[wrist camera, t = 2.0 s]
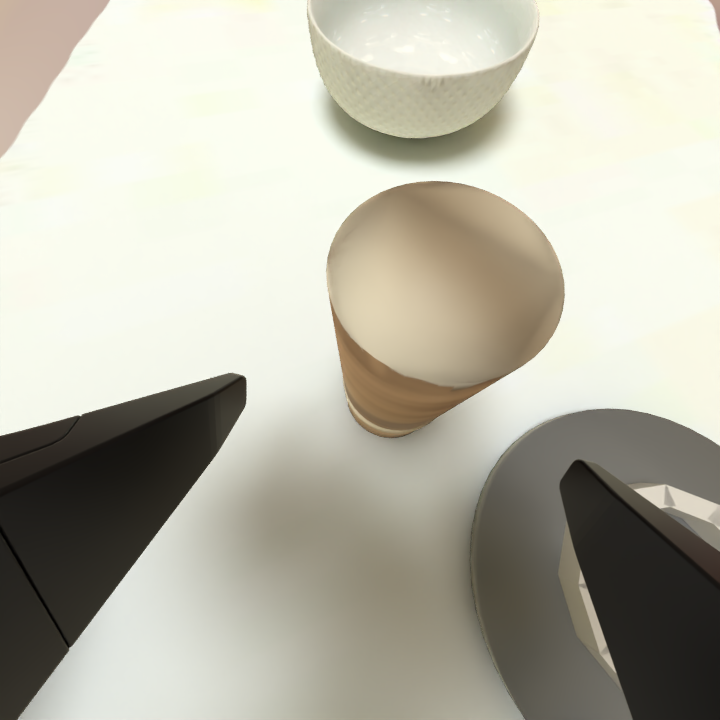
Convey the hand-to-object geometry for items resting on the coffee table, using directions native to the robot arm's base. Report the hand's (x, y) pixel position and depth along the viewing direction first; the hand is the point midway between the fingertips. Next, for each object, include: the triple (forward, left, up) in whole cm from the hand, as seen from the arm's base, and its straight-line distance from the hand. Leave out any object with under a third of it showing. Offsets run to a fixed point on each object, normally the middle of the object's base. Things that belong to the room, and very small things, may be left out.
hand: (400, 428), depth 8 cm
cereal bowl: (+22, +22, -11) cm, 33 cm away
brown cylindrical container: (+3, +2, -11) cm, 11 cm away
